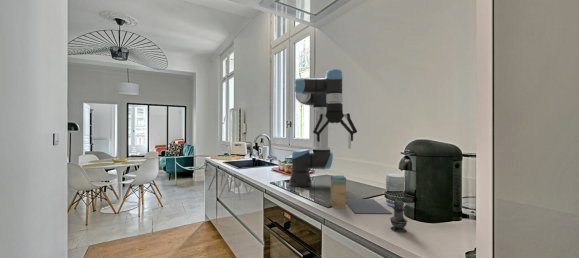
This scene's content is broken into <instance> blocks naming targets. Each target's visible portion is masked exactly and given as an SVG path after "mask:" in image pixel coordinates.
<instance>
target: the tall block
mask: <svg viewBox="0 0 579 258" xmlns="http://www.w3.org/2000/svg"><path fill="white" fill-rule="evenodd" d="M346 199H347V177H346V176H345V175H339V174H338V175H330V205H332V206H331V207H332V208H333V209H347V206H346V205H347V204H346Z"/></svg>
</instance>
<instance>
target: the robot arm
mask: <svg viewBox="0 0 579 258" xmlns="http://www.w3.org/2000/svg"><path fill="white" fill-rule="evenodd" d="M343 78H344V77H343V71H342V70H341V69H336V68H335V69H328V70H327V71H326V73H325V78H308V77H307V78H306V77H304V78H303V77H301V78H295V80H294V93H295V99H296V100H297V102H298V103H300V104H303V105H305V106H312V109H313V110H314V111H315V123H314V124H315V126H314V129H313V130H312V133H313V134H314V136H315V137H314V147H313V148H312V151H311V150H310V149H309V148H307V149H306V148H305V149H298V150H293V152H292V153H291V155H292V157H291V159H292V161H291V174H290V178H289V181H288V185H290V186H292V187H299V188H303V187H311V186H312V185H313V182H312V176H311V174H310V170H312V169H313V170H329V169H331V167H332V165H333V158H334V156H333V154H334V153H333V151H331V148H330V147H329V124H339V123H340V124H341V126H343V128H344V130H346V131H347V133H349V134H347V146H348V149H352V142H353V141H354V134H356V133H358V130H357V128H356V127H355V125H354V123H353V121H352V119H351V114H350V113H343V108H344V107H343ZM344 118H345V119H346V120H347V122H348V124H349V126H350V127H349V126H348V124H347V123H345V122H344V120H343V119H344Z"/></svg>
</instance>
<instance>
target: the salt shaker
mask: <svg viewBox="0 0 579 258" xmlns="http://www.w3.org/2000/svg"><path fill="white" fill-rule="evenodd" d="M404 211H405V209H404V207H403V201H402V200H401V199H399V197H398V199H395V201H394V207H393V216H392V217H390V218H389V220H390V223H391V225H392V226H391V227H390V230H391V231H392V232H396V233H401V234H402V233H406V232H407V229H406V226H407V223H408V221H409V220H407V219H406V218H405V217H404Z"/></svg>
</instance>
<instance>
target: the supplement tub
mask: <svg viewBox="0 0 579 258" xmlns="http://www.w3.org/2000/svg"><path fill="white" fill-rule="evenodd" d="M404 175H405V174H403V173H402V174H401V173H386V175H385V176H386V177H385V193H386V192H387V191H404V182H405V176H404ZM385 203H386V204H387V206H389V207H393V208H394V202H393V201H390V200H387V199H386V198H385ZM403 208H405V207H404V203H403Z"/></svg>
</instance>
